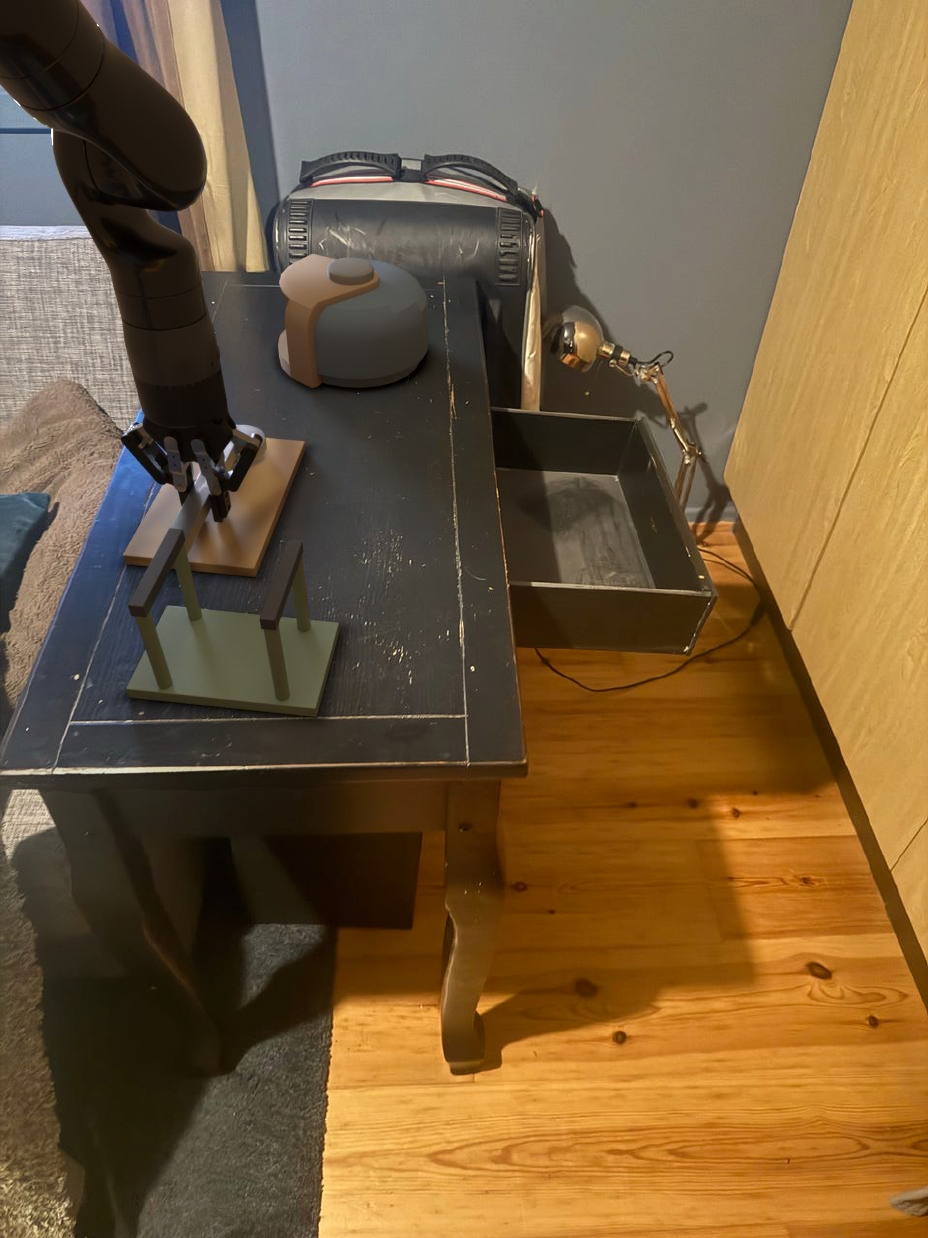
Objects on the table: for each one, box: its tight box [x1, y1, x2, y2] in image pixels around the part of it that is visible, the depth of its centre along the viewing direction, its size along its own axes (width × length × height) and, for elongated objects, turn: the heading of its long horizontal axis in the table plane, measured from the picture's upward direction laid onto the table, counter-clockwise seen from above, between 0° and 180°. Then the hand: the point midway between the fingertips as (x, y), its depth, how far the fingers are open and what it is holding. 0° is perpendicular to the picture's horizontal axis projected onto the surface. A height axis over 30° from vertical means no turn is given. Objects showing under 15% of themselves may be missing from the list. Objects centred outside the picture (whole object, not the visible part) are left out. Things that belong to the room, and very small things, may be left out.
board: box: [122, 437, 307, 578], centre depth 87 cm, size 13×22×1 cm, turn 175°
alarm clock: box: [277, 253, 430, 389], centre depth 107 cm, size 19×20×12 cm
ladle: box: [171, 424, 267, 555], centre depth 84 cm, size 24×6×3 cm, turn 175°
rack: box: [125, 528, 340, 718], centre depth 68 cm, size 16×10×11 cm, turn 85°
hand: (208, 515), depth 84 cm, fingers closed on ladle, 2 cm apart
